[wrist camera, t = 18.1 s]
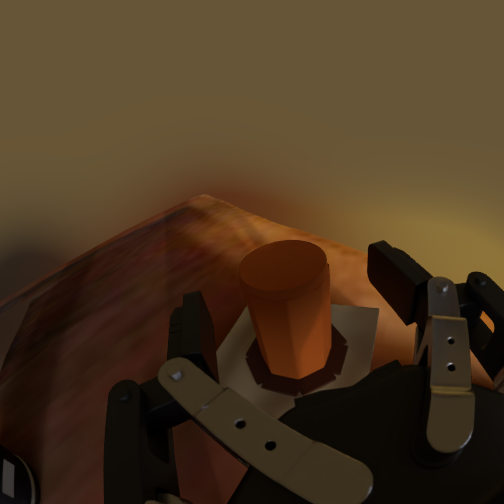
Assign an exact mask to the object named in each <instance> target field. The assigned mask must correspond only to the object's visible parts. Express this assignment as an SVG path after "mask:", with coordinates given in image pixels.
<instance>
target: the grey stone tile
mask: <svg viewBox="0 0 504 504" xmlns="http://www.w3.org/2000/svg"><path fill="white" fill-rule="evenodd" d="M378 316H379V308H368V307H358V306H347V305H337V304H331V323H332V324H333V325H334V327H335V328H336V329H337V330H338V331H339V332H340V333H341V335H342V336H343V337H344V338H345V339H346V340H347V343H346V344H344V345H348V350H347V354H346V357H345V361H344V365H343V368H342V371H341V375H336V374H334V375H335V376H336V380H335V381H333V382H331V383H329V384H327V385H325V386H323V387H321V388H319V389H317V390H315V391H313V392H311V393H309V394H312V393H315V392H318V391H321V390H328V389H335V388H343V387H349V386H352V385H354V384H356V383H357V382H358V381H360V380H361V379H363V378H364V377H365V376H367V375H368V374H369V371H370V366H371V361H372V355H373V349H374V343H375V337H376V331H377V323H378ZM255 337H256V334H255V331H254V327H253V324H252V321H251V317H250V314H249V310H248V307H247V306H246V308H245V309H244V311H243V313H242V314H241V316H240V317H239V319H238V320H237V322H236V323H235V325H234V326H233V328H232V329H231V331H230V332H229V334H228V335H227V337H226V338H225V340H224V341H223V343H222V344H221V346H220V347H219V348H218V350H217V351H216V356H217V365H218V374H219V382H220V386H222V387H223V388H226V387H229V388H231V389H233V390H234V391H236V392H237V393H238V394H240V395H241V396H243V397H244V398H246V399H247V400H248V401H250V402H251V403H253V404H254V405H256V406H257V407H259V408H260V409H262V410H263V411H265V412H266V413H268V414H269V415H271V416H272V417H274V418H275V419H278V418H279V417H280V416H282V415H283V414H284V413H285V412H287V411H288V410H289V409H291V408H293V407H295V404H294V399H295V398H299V397H302V394H301V392H300V391H299V392H298V395H297V397H294V396H289V395H285V394H281V393H277V392H273V391H270V390H266V389H262V388H261V386H262V384H263V383H261V384H259V385H257V383H256V381H255V379H254V377H253V375H252V373H251V370H250V368H249V366H248V364H247V362H246V359H245V358H248V357H249V356H246V353H247V351H248V349H249V348H250V346H251V344H252V342H253V341H254V339H255ZM298 380H299V379H298ZM307 395H308V394H307Z"/></svg>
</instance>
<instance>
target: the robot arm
mask: <svg viewBox="0 0 504 504" xmlns="http://www.w3.org/2000/svg"><path fill="white" fill-rule="evenodd" d="M367 274H368V278H369V281H370V282H371V284H372V285H373V286H374V287H375V288H376V290H377V291H378V292H379V293H380V294H381V295H382V297H383V298H384V299H385V300H386V301H387V303H388V304H389V305H390V306H391V307H392V309H393V310H394V311H395V312H396V313H397V315H398V316H399V317H400V318H401V320H402V321H403V322H404V323H405V325H406V326H408V325H410V324H412V323H414V322H416V324H417V327H416V334H415V348H414V358H413V364H412V365H403V366H401V364H400V363H399V361H398V360H395V361H393V362H390V363H388V364H386V365H384V366H382V367H379V368H377V369H375V370H373V371H372V372H371V373H369V374H368V375H367V376H365V377H364V378H363V379H361V380H360V381H358V382H357V383H356V384H354V385H352V386H349V387H343V388H335V389H328V390H321V391H318V392H315V393H312V394H308V395H305V396H302V397H299V398H295V399H294V404H295V407H293V408H291V409H289V410H288V411H287V412H285V413H284V414H283V415H282V416H280V417H279V418H278V419H275V418H274V417H272V416H271V415H269V414H268V413H266V412H265V411H263V410H262V409H260V408H259V407H257V406H256V405H254V404H253V403H251V402H250V401H248V400H247V399H246V398H244V397H243V396H241V395H240V394H238V393H237V392H236V391H234V390H233V389H231V388H229V387H226V388H223V387H222V386H220V382H219V374H218V365H217V356H216V346H215V336H214V327H213V322H212V319H211V316H210V313H209V311H208V308H207V306H206V303H205V301H204V298H203V296H202V293H201V291H196V292H192V293H188V294H184V295H183V306H182V307H178V308H175V310H174V311H173V313H172V315H171V316H170V327H169V338H168V351H167V362H165V363H164V364H163V365H162V366H161V368H160V369H159V372H158V376H157V377H155V378H153V379H151V380H149V381H147V382H145V383H142V384H140V385H138V384H137V383H136V382H134V381H132V380H123V381H120V382H118V383H117V384H115V385H114V386H113V387H112V389H111V390H110V392H109V396H108V404H107V414H106V426H105V442H104V504H193V503H192V502H190V501H189V500H186V499H183V498H180V491H179V485H178V478H177V470H176V462H175V454H174V444H173V434H172V427H174V426H176V425H179V424H181V423H183V422H185V421H187V420H190V419H192V420H193V421H194V422H195V423H196V424H197V425H198V426H199V427H200V428H201V429H202V430H203V431H205V432H206V433H207V434H208V435H209V436H210V437H211V438H212V439H213V440H215V441H216V442H217V443H218V444H219V445H220V446H221V447H223V448H224V449H225V450H226V451H227V452H228V453H229V454H231V455H232V456H233V457H234V458H236V459H237V460H238V461H239V462H241V463H242V464H243V465H244V466H246V467H247V468H248V470H247V472H246V473H245V475H244V477H243V478H242V480H241V482H240V483H239V485H238V487H237V488H236V490H235V492H234V493H233V495H232V496H231V498H230V499H229V501H228V503H227V504H504V291H503V290H502V289H501V288H500V287H499V286H498V285H497V284H496V283H495V282H494V281H493V280H492V279H491V278H490V277H488V276H487V275H486V274H484V273H481V272H471V273H470V274H469V275H468V278H467V281H466V283H460V284H454V283H453V282H452V281H451V280H449V279H447V278H445V277H433V276H432V275H431V274H430V273H428V272H427V271H426V270H425V269H424V268H423V267H421V265H419V264H418V263H416V261H415V260H413V259H412V258H411V257H410V256H409V255H408V254H406V253H405V252H404V251H402V250H400V249H397V248H393V247H392V246H390V245H389V244H388V243H387V242H386V241H384V240H382V241H379V242H376V243H373V244H370V245H369V247H368V265H367ZM483 311H484V312H485V313H486V314H487V315H488V317H489V318H490V319H491V320H492V321H493V323H494V332H493V333H492V331H491V330H490V329H489V328H488V327H487V325H486V324H485V323H484V322H483V321H482V319H481V318H480V316H481V314H482V312H483ZM470 350H471V351H472V352H473V354H474V355H475V356H476V358H477V359H478V361H479V362H480V364H481V365H482V366H483V368H484V369H485V371H486V372H487V374H488V375H489V377H490V378H491V380H492V381H493V386H494V390H491V389H488V388H485V387H482V386H479V385H476V384H473V383H471V361H470ZM39 503H40V493H39V486H38V482H37V478H36V476H35V473H34V471H33V470H32V468H31V467H30V465H29V464H28V463H27V462H26V461H24V460H23V459H21V458H20V457H18V456H17V455H15V454H13V453H12V452H10V451H9V450H7V449H6V448H5V447H3V446H2V445H1V444H0V504H39Z"/></svg>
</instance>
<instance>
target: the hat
mask: <svg viewBox="0 0 504 504" xmlns="http://www.w3.org/2000/svg"><path fill="white" fill-rule="evenodd" d="M239 275H240V283H241V286H242V290H243V293H244V297H245V300H246V304H247V307H248V310H249V314H250V317H251V321H252V324H253V327H254V331H255V334H256V337H255V339H254V341H253V342H252V344H251V346H250V348H249V349H248V351H247V353H246V356H249V357H248V358H245V359H246V362H247V364H248V366H249V368H250V370H251V373H252V375H253V377H254V379H255V381H256V383H257V385H259V384H261V383H263V384H262V386H261V388H262V389H266V390H270V391H273V392H277V393H281V394H285V395H289V396H294V397H297V395H298V392H299V391H300V392H301V394H302V396H305V395H307V394H309V393H311V392H313V391H315V390H317V389H319V388H321V387H323V386H325V385H327V384H329V383H331V382H333V381H335V380H336V376H335V375H334V374H336V375H341V371H342V368H343V365H344V361H345V357H346V354H347V350H348V345H344V344H346V343H347V340H346V339H345V338H344V337H343V336H342V335H341V333H340V332H339V331H338V330H337V329H336V328H335V327H334V325H333V324H332V323H331V297H330V274H329V264H328V263H327V258H326V255H325V253H324V251H323V250H322V249H321V248H320V247H318V246H317V245H315V244H312V243H310V242H306V241H300V240H284V241H278V242H273V243H269V244H266V245H264V246H261V247H259V248H257V249H255V250H254V251H252V252H251V253H249V254H248V255H247V256H246V257H245V258H244V259H243V261H242V262H241V264H240V267H239ZM298 379H299V380H298Z"/></svg>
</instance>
